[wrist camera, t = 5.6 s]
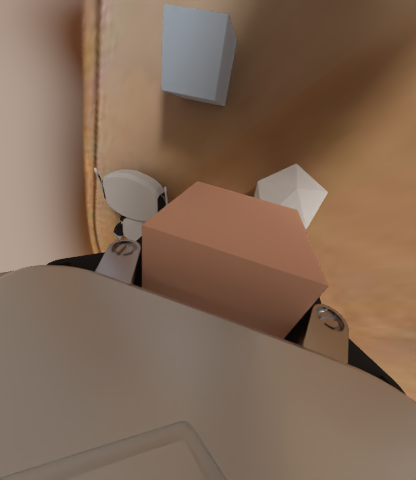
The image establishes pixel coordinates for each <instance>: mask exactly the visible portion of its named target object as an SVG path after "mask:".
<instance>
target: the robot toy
mask: <svg viewBox="0 0 416 480" xmlns="http://www.w3.org/2000/svg"><path fill="white" fill-rule="evenodd" d="M94 171H95V173H96V175H97V177H98V179H99V181H100V184H101V186H102V187H101V188H102V190H103V192H104V197H105V199H106V202H107V204H108V205H109V206H110V207H111V208H112V209H113V210H114V211H116V212H118V213H119V214H121V218H120V220H121V222H120V223H118V224H117V225H116V227H115V229H114V236H115V237H117V236H118V239H121V238H122V237H123V235H124V236H125V237H126V238H127V239H130V240H134V241H136V240H138V239H139V238H140V237H141V236H142V225H143V224H144V223H145V222H146V221H148V220H149V219H150V218H151V217H153V216H154V215H155V214H156V213H158V212H159V211H160V210H162V209H163V208H164V207H165V206H167V205H168V204H169V203H168V199H167V188H166V187H164V190H163V188H162V186H161V185H160V184H159V183H158V182H157V181H156V180H155V179H153V178H152V177H150V176H148V175H146V174H143V173H141V172H139V171H136V170H127V169H122V170H116V171H114V172H111V173H109V174H107V175H106V176H105V177H104V180H103V181H102V180H101V178H100V176H99V174H98V170H97V169H96V168H94ZM164 191H165V193H164Z"/></svg>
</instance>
